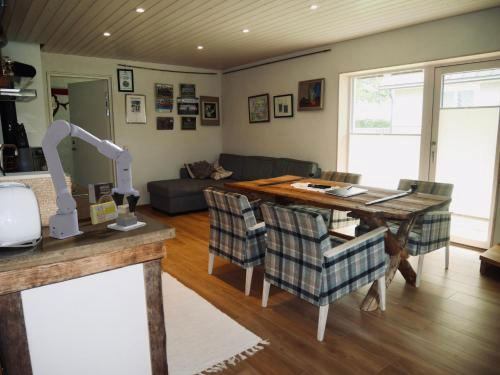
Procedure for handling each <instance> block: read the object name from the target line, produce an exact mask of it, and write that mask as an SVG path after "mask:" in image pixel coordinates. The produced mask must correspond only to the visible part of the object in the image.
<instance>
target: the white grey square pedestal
mask: <svg viewBox="0 0 500 375" xmlns="http://www.w3.org/2000/svg"><path fill="white" fill-rule="evenodd" d="M115 221H116V222H115V223H111V224H108V225H107V229H112V230H117V231H121V232H129V231H131V230H135V229H138V228H143V227H146V226H147V223H146V222H141V221H138V216H137V215H136V216H135V215H134V217H132V218H128V219H122V218H116V219H115ZM145 225H146V226H145Z"/></svg>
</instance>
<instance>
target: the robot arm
mask: <svg viewBox="0 0 500 375" xmlns="http://www.w3.org/2000/svg"><path fill="white" fill-rule="evenodd" d="M66 137H74V138H79V139H81V140H82V141H85V142H87V143H89V144H91V145H92V146H94V147H96V149H97V151H98V152H99V153H100V154H102V155H104V156H105V157H107V158H109V159H111V160H114V161H115V163H116V181H117V187H113V189H112V193H113V195H111V197H112V198H113V200H114V202H115V204H116V207H117V210H118V206H121V205H124V198H125V199H126V200H127V205H129V211H130V213H133V212H134V213H135V212H136V208H137V204H138V202H139V199H140V197H141V196H140V191H139V190H136V189H135V188H133V180H132V179H133V178H132V177H133V176H132V175H133V174H132V161H133V156H132V154H131V153H130V151H127V150H125V149H123V148H124V147H123V146H118V145H116V144H114V143H113V140H111V139H108V140H107V139H99V138H98V137H96V136H95V135H93V134H91V133H90V132H89V131H86V130H85V129H83V128H82V127H80V126H78V125H75V124H73V123H71V122H68V121H67V120H64V119H57V120H54V121H52V122H51V123H50V124H49V125H48V126H47V128H46V130H45V133H44V135H43V138H42V140H41V142H40V143H41V145H40V146H41V148H42V152H43V155H44V159H45V162H46V165H47V168H48V172H49V174H50V178H51V181H52V184H53V188H54V191H55V195H56V197H55V198H56V199H55V204H56V206H57V208H58V209H57V210H56V211H55V214H52V215H51V216H49V219H48V224H49V225H48V226H49V237H52V238H55V239H58V240H64V239H67V238H70V237H75V236H78V235H82V234H84V231H82V230H81V231H80V230H79V221H78V210H77V209H76V208H77V202H76V200H75V199H74V197H73V196H72V194H71V191H70V188H69V185H68V183H67V179H66V175H65V172H64V168H63V166H62V162H61V159H60V155H59V152H58V149H57V146H58V145H59V144H60V142H61V141H62V140H63V139H65V138H66ZM125 195H126V196H125Z"/></svg>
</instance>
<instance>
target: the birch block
mask: <svg viewBox="0 0 500 375" xmlns="http://www.w3.org/2000/svg"><path fill="white" fill-rule="evenodd" d="M134 216H135V212H133V213H130V211H129V204H128V203H126V204H123V205H121V206H118V218H122V219H128V218H132V217H134Z"/></svg>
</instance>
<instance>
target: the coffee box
mask: <svg viewBox="0 0 500 375" xmlns="http://www.w3.org/2000/svg"><path fill="white" fill-rule="evenodd" d="M113 188H114V183H113V182H110V181H102V182H101V181H100V182H93V183H88V197H89V198H88V200H89V201H88V202H89V207H90V206H93V205H98V204H103V203H107V202H112V201H114V200H113V198H112V197H111V195H113V194H114V193H112V189H113ZM89 215H90V217H89V218H91V210H90V209H89Z"/></svg>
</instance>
